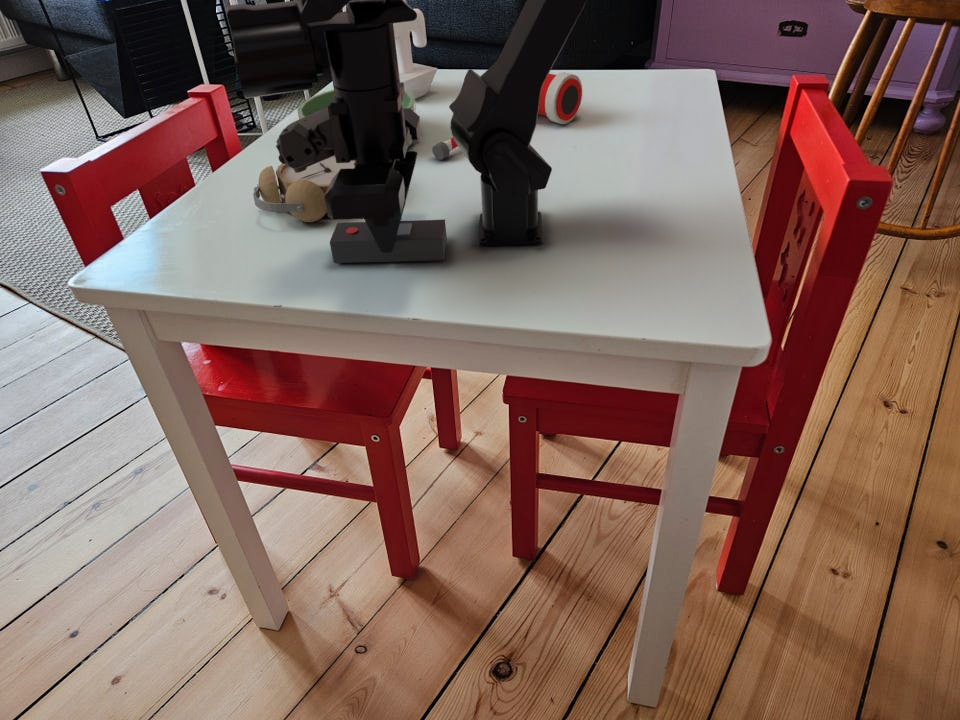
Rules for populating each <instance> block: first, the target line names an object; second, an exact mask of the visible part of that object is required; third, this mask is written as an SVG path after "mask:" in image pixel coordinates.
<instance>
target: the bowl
mask: <svg viewBox="0 0 960 720" xmlns="http://www.w3.org/2000/svg"><path fill="white" fill-rule="evenodd" d="M334 96H335V93H334V89H330V90H327V91H323V92H321V93H318V94H316V95H313V96H311V97H309V98H308V99H306V100H304V101H302V103H300V105H299V107H297V111H296V112H297V117H298V120H299V119H301V118H304V117H306V116H308V115H311V114H313V113H315V112H317V111H320V110H322V109H325V108H328V105H329V104H330V102H331V101H332V99H333V98H334ZM402 103H403V108H410V109H412V110H413V111H414V112H415V113H416V114H417V115H418V113H417V104H416V99H415V98H414V97H413V95H412V94H411V93H409V92H407V91H405V96H404V99H403V101H402ZM411 145H413V142H412V138H411V135H410V141H409V144H408V148H409V147H410V146H411Z"/></svg>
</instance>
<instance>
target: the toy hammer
mask: <svg viewBox="0 0 960 720" xmlns="http://www.w3.org/2000/svg"><path fill="white" fill-rule="evenodd" d="M582 99H583V85H582V81H581V79H580V77H579V76H577V75H576V74H572V73H569V72H560V73H558V74H554V73H549V74H548V76H547V78H546V80H545V82H544V84H543V86H542V89H541V94H540V102H539V110H538V115H542V116H545V117H547V119H548V120H549V121H550V122H553V123H556V124H560V125H566V124H570V122H571V121H572V120H573V119H574V118H575V117H576V115H577V114H578V112H579V110H580V107H581V105H582V104H581V103H582ZM456 148H459V146H458V145H457V144H456V142H455V141H454V138H453V136H452V137H450V138H449V139H447V140H446V141H439V142H437V143H436V144H434V145H433V146H432V148H431V150H432V151H431V152H432V155H433V156H434V158H435V159H437V161H442V160H444V159H445V158H447V157H448V156H450V152H452V151H453V150H454V149H456Z"/></svg>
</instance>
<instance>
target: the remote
mask: <svg viewBox="0 0 960 720" xmlns="http://www.w3.org/2000/svg"><path fill="white" fill-rule="evenodd" d="M447 241H448V238H447V227H446V219H421V220H420V219H419V220H418V219H417V220H401V221H400V225H399V228H398V232H397V236H396V240H395V243H394V247H393V251H392V252H391V253H382V252H381V251H380V249H379V247H378V245H377V243H376V241H375V239H374V237H373V235H372V233H371V231H370V229H369V227H368V225H367V224H366V222H365V221H351V222H350V221H348V222H347V221H346V222H344V221H343V222H337V223H336V225H335V228H334V230H333V233H332V235H331V238H330V240H329V245H330V251H331V256H332V261H333V263H334V264H347V263H349V264H351V263H353V264H354V263H386V262H387V263H389V262H391V263H393V262H432V261H444V260H445V255H446V249H447V248H446V247H447V243H448V242H447Z"/></svg>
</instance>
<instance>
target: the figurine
mask: <svg viewBox="0 0 960 720" xmlns="http://www.w3.org/2000/svg"><path fill="white" fill-rule="evenodd" d="M403 1H405V2H406V3H407V0H403ZM413 9H414V11H415V12H416V13H417V18H416V20H414V21H408V22H400V23H393V27H394V36H395V44H396V53H397V61H398V70H399V78H400V82H404V87H405V91H407V92H409V93H411V94H412V95H413V97H414V98H415V100H416V99H418V98H420V97H423V96H426V95H427V94H428V92H429V90H430V87H431V85H432V83H433V80H434V79H435V77H436V74H437V71H438V69H439V68H438V67H433V66H430V65H424V64H421V63H420V64H419V63H416V62H413V53H412V46H411V45H412V44H411V37H410V36H412V42H413V45H414V47H416V48H425V47H426V46H427V41H428V40H427V32H426V31H427V30H426V20H425V16H424V13H423V11H421V9H419V8H413ZM410 34H411V35H410Z"/></svg>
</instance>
